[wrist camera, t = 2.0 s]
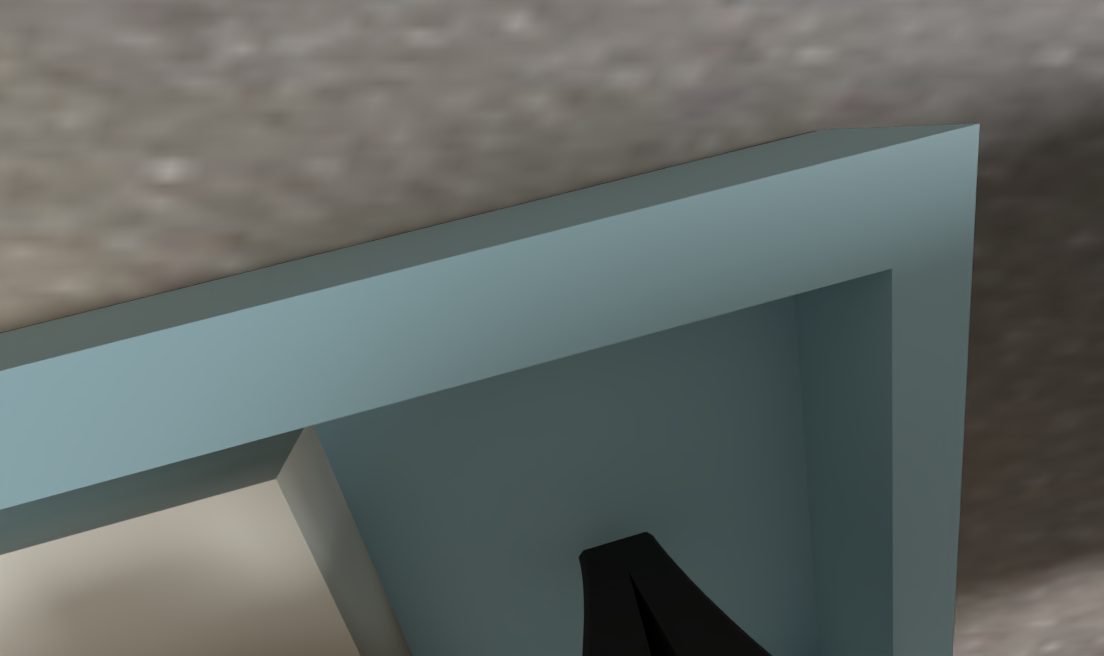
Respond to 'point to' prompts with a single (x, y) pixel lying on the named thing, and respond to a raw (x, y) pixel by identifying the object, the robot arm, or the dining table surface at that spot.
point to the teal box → (587, 393)
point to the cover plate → (197, 563)
